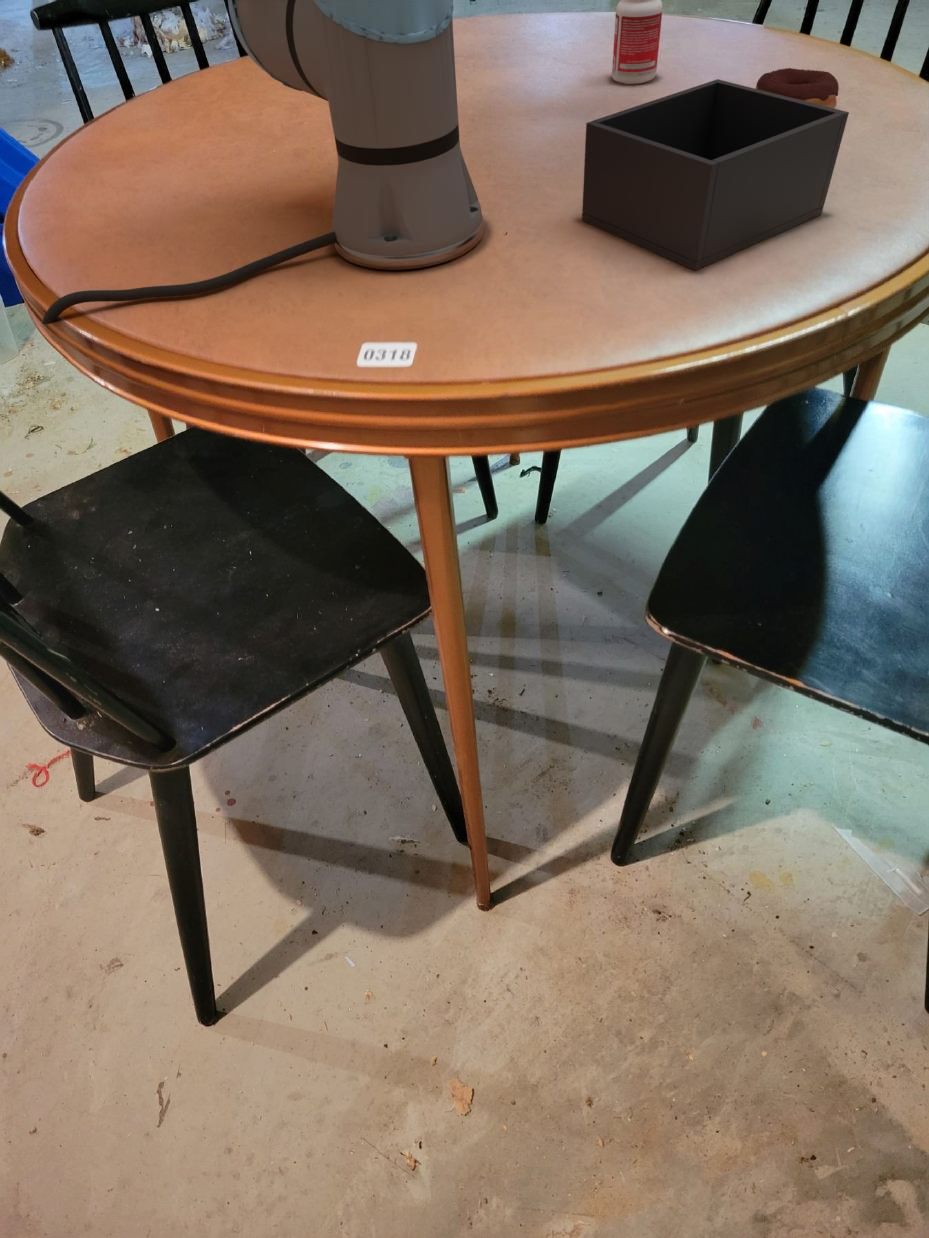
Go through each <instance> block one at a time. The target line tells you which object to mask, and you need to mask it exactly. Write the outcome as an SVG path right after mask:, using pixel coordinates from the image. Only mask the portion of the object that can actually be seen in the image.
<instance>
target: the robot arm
mask: <svg viewBox="0 0 929 1238" xmlns="http://www.w3.org/2000/svg"><path fill="white" fill-rule="evenodd" d="M227 3H228V4H227V5H228V11H229V16H230V20H231V24H232V27H233V29H234V31H235V35H236V36H237V39H238V41H239V42H240V44H241V46H242V48H243V49H244V51H245V52H246V54H247V55H248V56H249V58H250V59H251V60H252V61H253V62H254V64H256V65H257V67H259V69H261V70H262V71H264V72H265V73H266V74H267V75H268V76H269V77H271V78H272V79H273V80H275V81H277V82H279V83H280V84H282V85H283V86H284V87H286V88H289V89H292V90H296V91H299V92H305V93H307V94H310V95H312V96H314V97H316V98H318V99H320V100H321V99H322V100H323V101H326V102H327V103H328V107H329V108H328V109H329V113H330V119H331V126H332V131H333V135H334V142H335V148H336V154H337V163H338V164H337V170H336V171H337V172H336V173H337V174H336V182H335V191H334V199H333V210H332V218H331V228H332V230H331V232H328V233H326V234H323V235H322V234H321V235H320V236H317V237H314V238H312V239H309V240H307V241H306V240H305V241H304V242H301V243H298V244H295V245H292V246H291V247H288V248H285V249H283V250H280V251H278V252H275V253H272V254H270V255H267V256H264V257H262V258H260V259H257V260H255V261H252V262H249V263H247V264H246V265H243V266H241V267H238V268H237V269H234V270H232V271H229V272H227V273H226V272H225V273H224V274H222V275H218V276H215V277H212V278H208V279H204V280H200V281H196V282H195V281H194V282H190V283H183V284H182V283H181V284H172V285H171V284H170V285H154V286H153V285H152V286H142V287H138V288H137V287H136V288H129V289H127V288H126V289H96V290H95V289H93V290H80V291H75V292H71V293H68V294H65V295H63V296H60V297H59V298H58V299H57V300H55V301H54V302H52V304H51V305H50V306H49V307H48V308H47V310H46V312H45V314H44V316H43V318H42V323H41V324H43V325H50V324H53V323H54V322H56V321H57V320H58V318H59V317H60V315H62V313H64V312H65V311H66V310H67V309H69V308H71V307H73V306H76V305H80V304H85V303H96V302H99V303H100V302H107V303H108V302H131V301H138V300H146V299H154V298H156V299H157V298H172V297H184V296H193V295H199V294H203V293H207V292H211V291H212V292H213V291H216V290H219V289H222V288H224V287H227V286H230V285H232V284H235V283H237V282H239V281H242V280H244V279H246V278H248V277H251V276H253V275H255V274H257V273H260V272H262V271H265V270H268V269H270V268H273V267H276V266H278V265H280V264H283V263H285V262H288V261H291V260H293V259H296V258H298V257H300V256H301V257H302V256H303V255H306V254H309V253H311V252H314V251H317V250H320V249H322V248H325V247H328V246H330V245H333V244H334V249H335V250H336V252H337V253H338V254H339V255H340V256H341V257H342V258H343V259H344V260H345V261H348V262H350V263H353V264H355V265H358V266H360V267H361V266H362V267H365V268H370V269H377V270H409V269H410V270H411V269H417V268H418V269H420V268H426V267H430V266H431V267H432V266H434V265H435V266H436V265H438V264H442V263H445V262H448V261H451V260H454V259H456V258H458V257H460V256H462V255H464V254H466V253H467V252H468V251H470V250H472V249H473V248H474V247H475V246H477V244H479V242H480V241H481V240H482V237H483V234H484V219H483V218H484V217H483V213H482V206H481V203H480V200H479V198H478V195H477V194H478V193H477V192H476V189H475V186H474V183H473V180H472V178H471V175H470V173H469V169H468V167H467V166H468V165H467V164H466V161H465V158H464V155H463V152H462V150H461V149H462V148H461V141H460V126H459V125H460V124H459V108H458V107H459V106H458V92H457V76H456V75H457V74H456V59H455V58H456V57H455V42H454V40H455V39H454V23H453V21H454V20H453V14H454V8H455V7H454V0H227Z"/></svg>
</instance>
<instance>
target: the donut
mask: <svg viewBox="0 0 929 1238" xmlns="http://www.w3.org/2000/svg"><path fill="white" fill-rule="evenodd" d="M839 87H840V86H839V82H838V79H837V78H836V76H835V75H833V74H832V73H830V72H829V71H824V70H817V69H815V70H813V69H803V68H801V69H800V68H793V67H786V68H779V69H776V70H772V71H770V72H764V73H763V74H762V75H761V76H759V78H758V80H757V82H756V85H755V89H758V90H762V91H766V92H770V93H774V94H778V95H782V96H786V97H790V98H794V99H798V100H802V101H806V102H810V103H814V104H818V105H822V106H826V107H830V108H834V109H836V106H837V105H838V103H837V97H838V96H839V89H840V88H839Z"/></svg>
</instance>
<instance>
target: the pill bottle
mask: <svg viewBox="0 0 929 1238" xmlns="http://www.w3.org/2000/svg"><path fill="white" fill-rule="evenodd" d="M663 9H664V7H663V2H662V0H620V1H619V2H618V4H617V5H616V8H615V19H614V20H615V21H614V34H613V50H612V68H611V77H612V79H613V80H614V81H615V82H617V83H620V84H625V85H635V84H643V83H646V82H650V81H652V80H653V79H654V78H655V77H656V75H657V69H658V60H659V59H658V58H659V49H660V41H661V29H662V19H663Z"/></svg>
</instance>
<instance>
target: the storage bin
mask: <svg viewBox="0 0 929 1238" xmlns="http://www.w3.org/2000/svg"><path fill="white" fill-rule="evenodd" d="M849 113H850V112H849V111H845V110H842V109H838V108H830V107H826V106H822V105H818V104H814V103H810V102H806V101H802V100H798V99H794V98H790V97H786V96H782V95H778V94H774V93H770V92H766V91H762V90H758V89H756V88H753V87H750V86H746V85H742V84H738V83H735V82H730V81H727V80H722V79H719V78H716V79H713V80H711V81H708V82H705V83H702V84H698V85H696V86H693V87H690V88H687V89H683V90H681V91H678V92H675V93H671V94H668V95H666V96H662V97H660V98H657V99H654V100H650V101H648V102H644V103H641V104H638V105H635V106H632V107H630V108H627V109H623V110H620V111H618V112H615V113H612V114H607V115H606V116H603V117H599V118H596V119H593V120H590V121H588V122H586V123H585V144H584V145H585V146H584V165H583V166H584V167H583V185H582V186H583V187H582V210H581V221H582V222H585V223H587V224H589V225H591V226H593V227H596V228H597V229H600V230H603V231H605V232H607V233H609V234H611V235H614V236H616V237H618V238H621V239H623V240H625V241H627V242H630V243H632V244H634V245H636V246H639V247H641V248H642V249H645V250H647V251H649V252H652V253H653V254H656V255H659V256H660V257H662V258H663V257H664V258H665V259H668V260H669V261H672V262H674V263H676V264H678V265H681V266H683V267H686V268H688V269H690V270H693V271H695V272H696V271H698V270H700V269H703V268H704V267H707V266H708V265H712V264H714V263H715V262H718V261H720V260H722V259H725V258H728V257H730V256H731V255H734V254H736V253H739V252H741V251H743V250H746V249H747V248H749V247H751V246H754V245H756V244H758V243H760V242H764V241H766V240H767V239H769V238H772V237H774V236H776V235H779V234H781V233H783V232H785V231H787V230H790V229H792V228H794V227H796V226H799V225H801V224H803V223H806V222H808V221H810V220H812V219H815V218H817V217H819V216H821V215H822V214H823V211H824V206H825V203H826V200H827V197H828V193H829V192H828V191H829V189H830V185H831V181H832V178H833V173H834V170H835V167H836V162H837V158H838V155H839V152H840V147H841V144H842V140H843V137H844V133H845V129H846V125H847V122H848V118H849Z"/></svg>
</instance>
